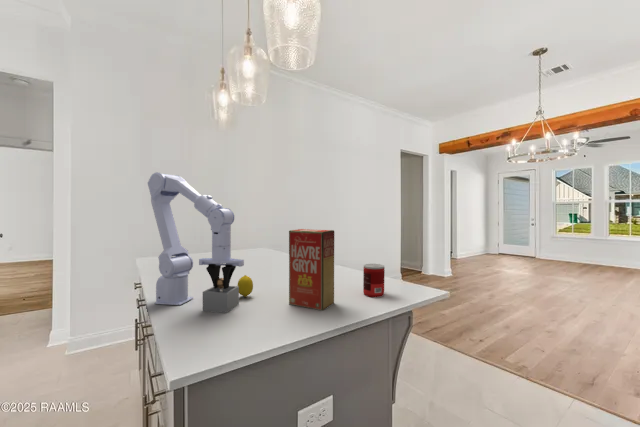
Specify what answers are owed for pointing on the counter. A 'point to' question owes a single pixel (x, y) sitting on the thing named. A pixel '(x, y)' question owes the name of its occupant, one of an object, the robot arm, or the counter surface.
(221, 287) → the plunger
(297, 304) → the food packaging
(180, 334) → the counter surface
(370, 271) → the canned food
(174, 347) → the counter surface
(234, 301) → the open box
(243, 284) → the lemon
